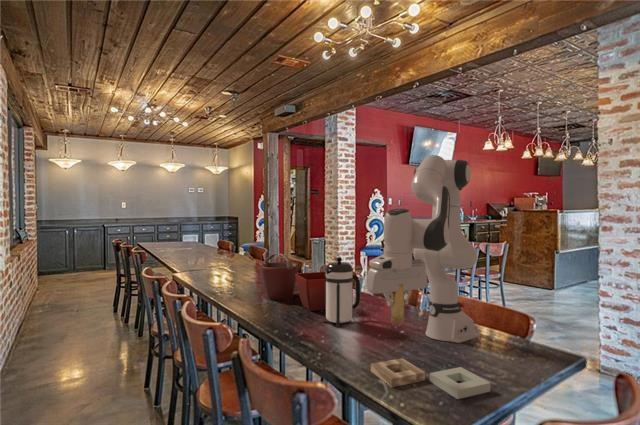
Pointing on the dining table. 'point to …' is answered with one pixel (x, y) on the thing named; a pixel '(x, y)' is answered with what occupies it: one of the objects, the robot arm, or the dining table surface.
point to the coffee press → (340, 292)
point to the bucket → (278, 278)
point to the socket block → (459, 390)
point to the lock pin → (398, 305)
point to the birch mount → (400, 378)
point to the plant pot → (312, 289)
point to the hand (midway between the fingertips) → (397, 304)
